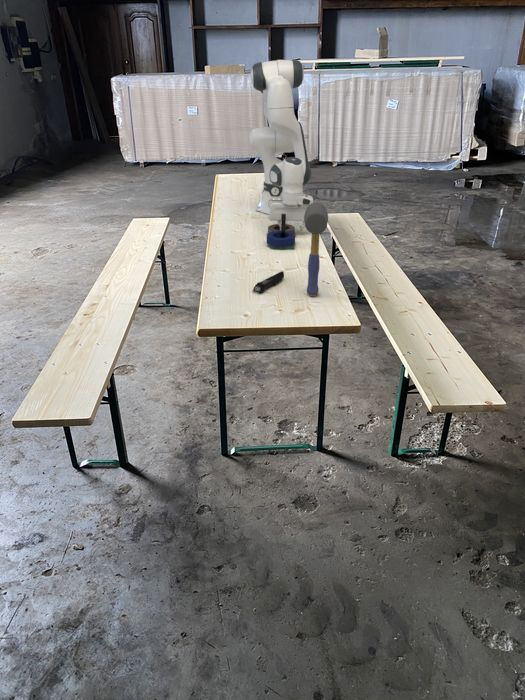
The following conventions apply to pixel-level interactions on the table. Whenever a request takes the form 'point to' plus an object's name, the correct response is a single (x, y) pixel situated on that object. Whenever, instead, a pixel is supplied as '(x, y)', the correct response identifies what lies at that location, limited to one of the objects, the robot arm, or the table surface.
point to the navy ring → (280, 239)
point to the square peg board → (283, 232)
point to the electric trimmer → (268, 282)
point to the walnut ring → (277, 228)
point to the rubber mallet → (314, 242)
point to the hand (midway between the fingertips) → (291, 230)
